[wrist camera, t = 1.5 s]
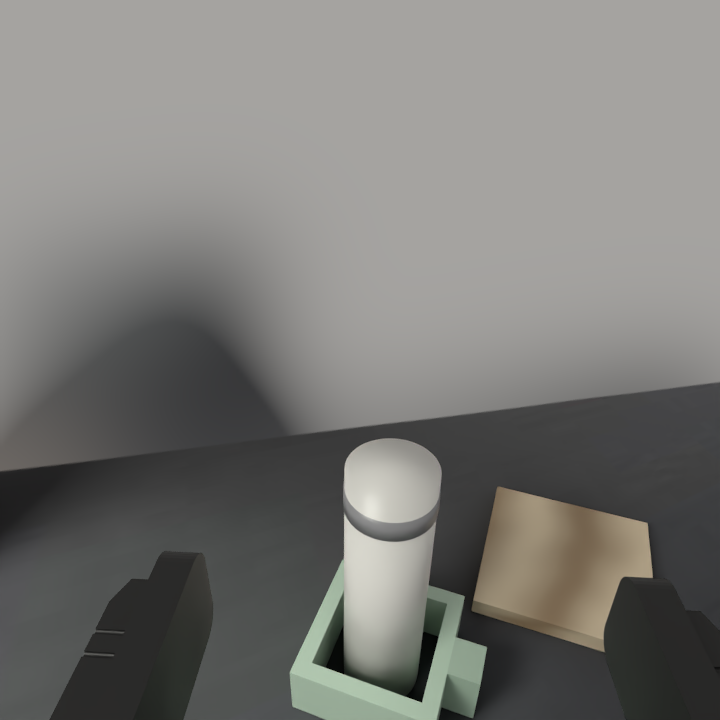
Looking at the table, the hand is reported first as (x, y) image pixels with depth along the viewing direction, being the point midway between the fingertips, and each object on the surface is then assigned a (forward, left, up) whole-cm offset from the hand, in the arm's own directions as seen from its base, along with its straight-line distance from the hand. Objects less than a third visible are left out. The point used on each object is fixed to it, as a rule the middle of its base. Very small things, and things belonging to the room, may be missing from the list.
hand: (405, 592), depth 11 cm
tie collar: (-3, +10, -20) cm, 23 cm away
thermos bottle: (-3, +10, -20) cm, 23 cm away
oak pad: (+6, +20, -20) cm, 29 cm away
